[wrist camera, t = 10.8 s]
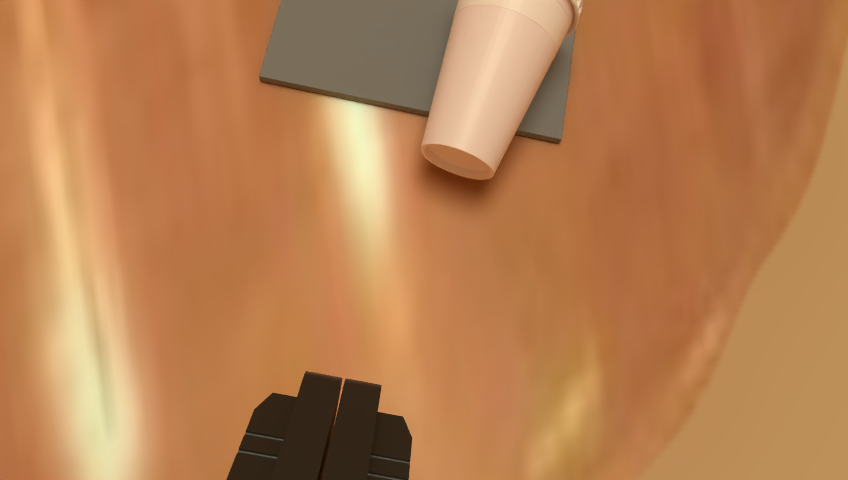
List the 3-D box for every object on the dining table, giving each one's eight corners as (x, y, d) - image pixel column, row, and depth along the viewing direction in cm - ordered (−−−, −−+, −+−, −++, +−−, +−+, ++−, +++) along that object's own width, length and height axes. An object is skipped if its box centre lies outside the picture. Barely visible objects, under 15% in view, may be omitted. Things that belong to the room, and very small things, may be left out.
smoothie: (527, 202, 34) (609, -31, 37) (513, 150, 28) (612, -124, 31) (412, 171, 36) (498, -48, 39) (376, 116, 30) (481, -139, 33)
